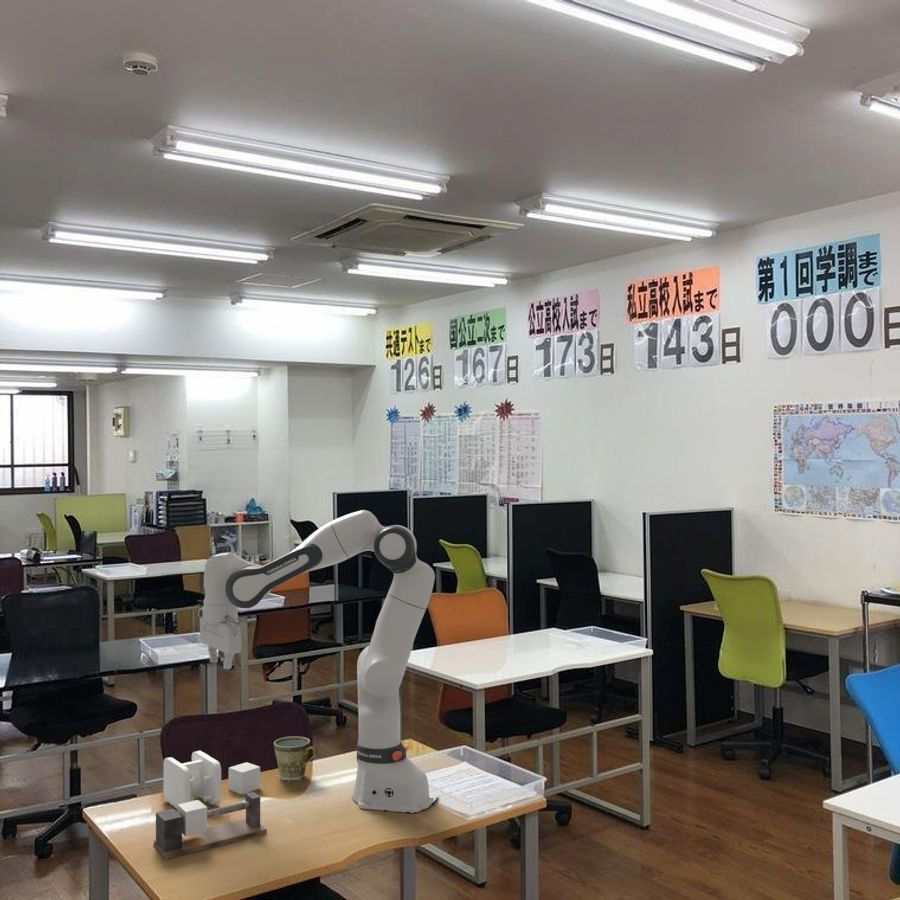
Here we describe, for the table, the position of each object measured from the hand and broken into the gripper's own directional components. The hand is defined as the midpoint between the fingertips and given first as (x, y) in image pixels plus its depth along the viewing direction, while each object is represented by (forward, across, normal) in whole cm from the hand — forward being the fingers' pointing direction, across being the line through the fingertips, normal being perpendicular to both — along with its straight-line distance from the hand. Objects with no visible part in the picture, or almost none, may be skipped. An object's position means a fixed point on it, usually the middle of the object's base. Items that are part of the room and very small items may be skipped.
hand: (220, 665), depth 245 cm
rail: (+34, -27, +13) cm, 45 cm away
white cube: (+31, -27, +18) cm, 45 cm away
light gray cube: (+34, -1, -6) cm, 35 cm away
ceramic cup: (+34, -1, -22) cm, 41 cm away
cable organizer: (+34, -3, +9) cm, 36 cm away
